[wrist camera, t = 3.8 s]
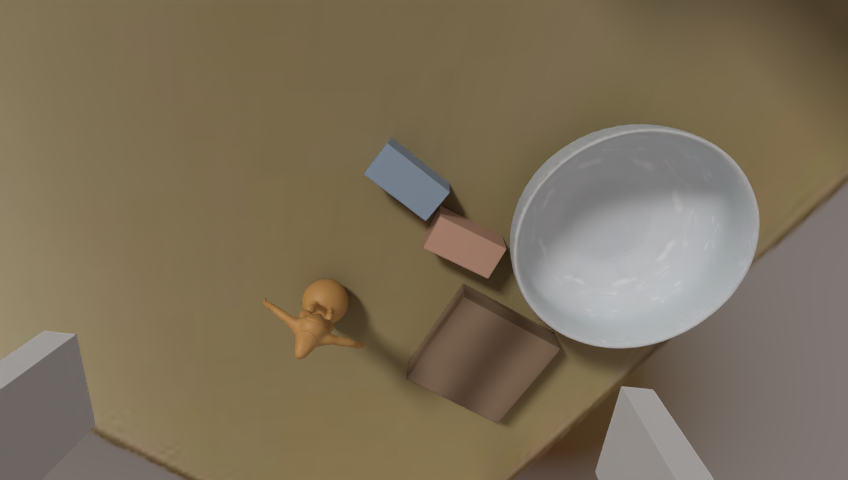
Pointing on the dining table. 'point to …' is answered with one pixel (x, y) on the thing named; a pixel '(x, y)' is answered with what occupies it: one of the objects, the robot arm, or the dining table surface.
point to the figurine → (317, 317)
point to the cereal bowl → (633, 235)
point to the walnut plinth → (481, 354)
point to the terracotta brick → (464, 242)
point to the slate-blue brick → (408, 179)
